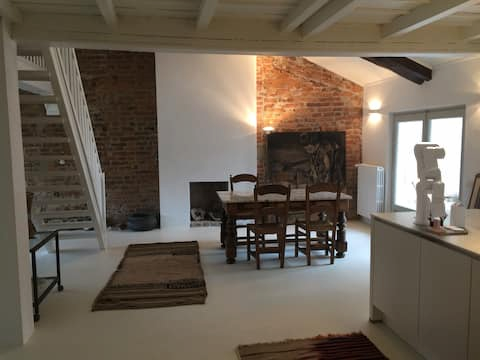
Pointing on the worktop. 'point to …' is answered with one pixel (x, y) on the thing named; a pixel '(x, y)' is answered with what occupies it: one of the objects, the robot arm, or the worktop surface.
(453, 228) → the board
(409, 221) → the worktop surface
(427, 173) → the robot arm
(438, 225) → the stub
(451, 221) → the milk carton
